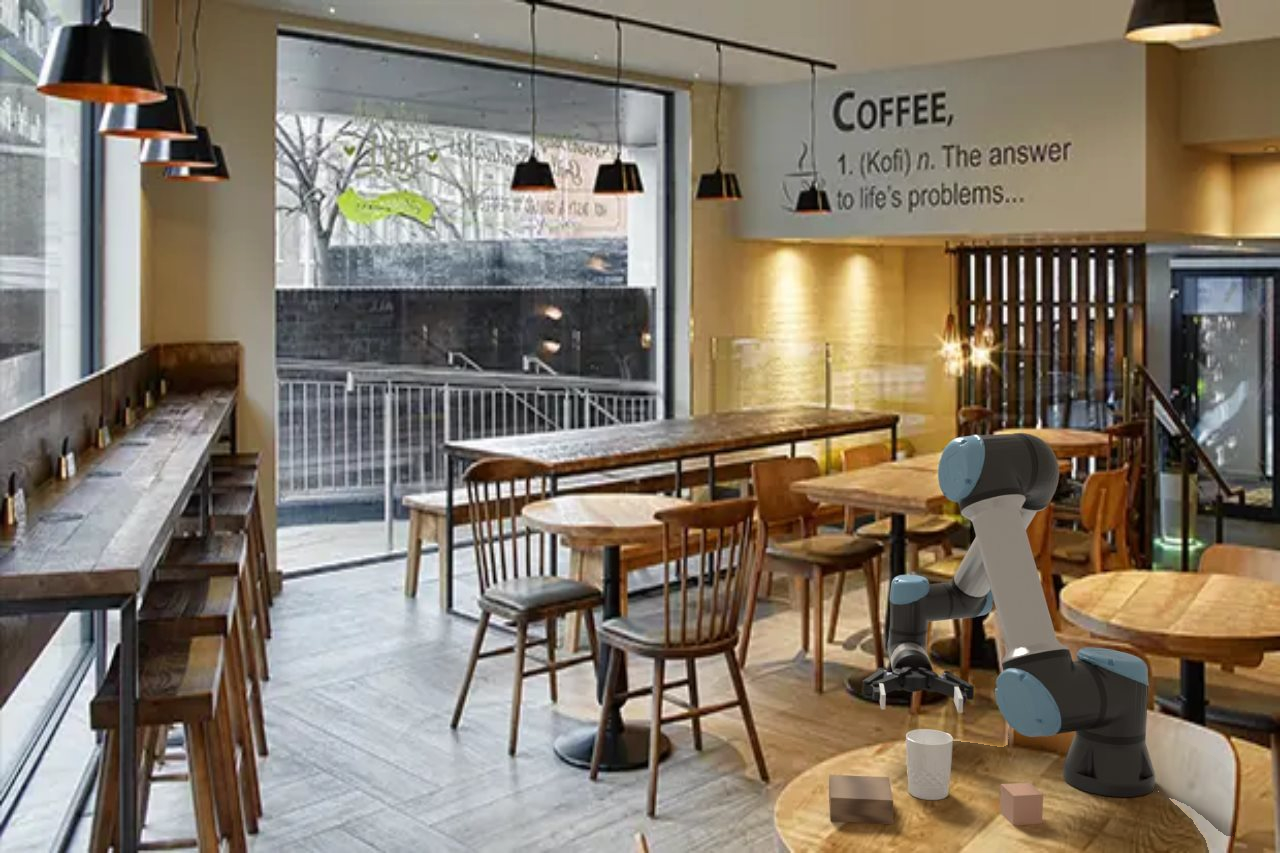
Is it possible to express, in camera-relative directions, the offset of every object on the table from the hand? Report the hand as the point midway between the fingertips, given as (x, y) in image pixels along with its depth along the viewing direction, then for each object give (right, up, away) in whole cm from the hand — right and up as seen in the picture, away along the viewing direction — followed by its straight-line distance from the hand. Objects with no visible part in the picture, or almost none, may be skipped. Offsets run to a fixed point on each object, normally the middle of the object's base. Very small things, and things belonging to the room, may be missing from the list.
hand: (921, 704), depth 228 cm
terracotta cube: (+12, -15, -20) cm, 27 cm away
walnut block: (-14, -14, -16) cm, 26 cm away
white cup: (-1, -14, -9) cm, 16 cm away
